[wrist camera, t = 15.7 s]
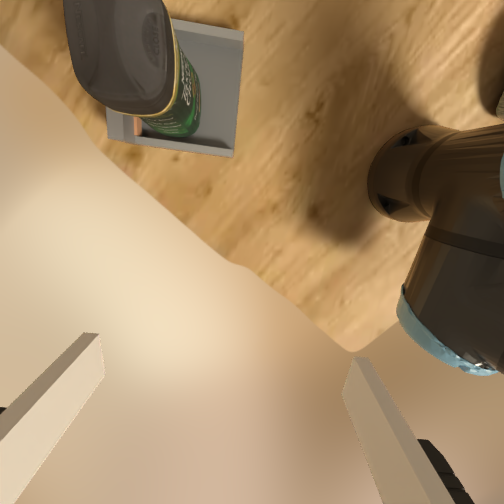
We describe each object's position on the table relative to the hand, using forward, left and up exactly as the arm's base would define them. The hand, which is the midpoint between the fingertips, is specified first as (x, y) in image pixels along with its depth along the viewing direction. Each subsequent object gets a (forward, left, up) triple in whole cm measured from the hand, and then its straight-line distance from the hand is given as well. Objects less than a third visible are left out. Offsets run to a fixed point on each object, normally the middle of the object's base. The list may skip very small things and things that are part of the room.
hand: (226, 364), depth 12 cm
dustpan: (+10, -19, -31) cm, 38 cm away
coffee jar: (+11, -18, -31) cm, 37 cm away
